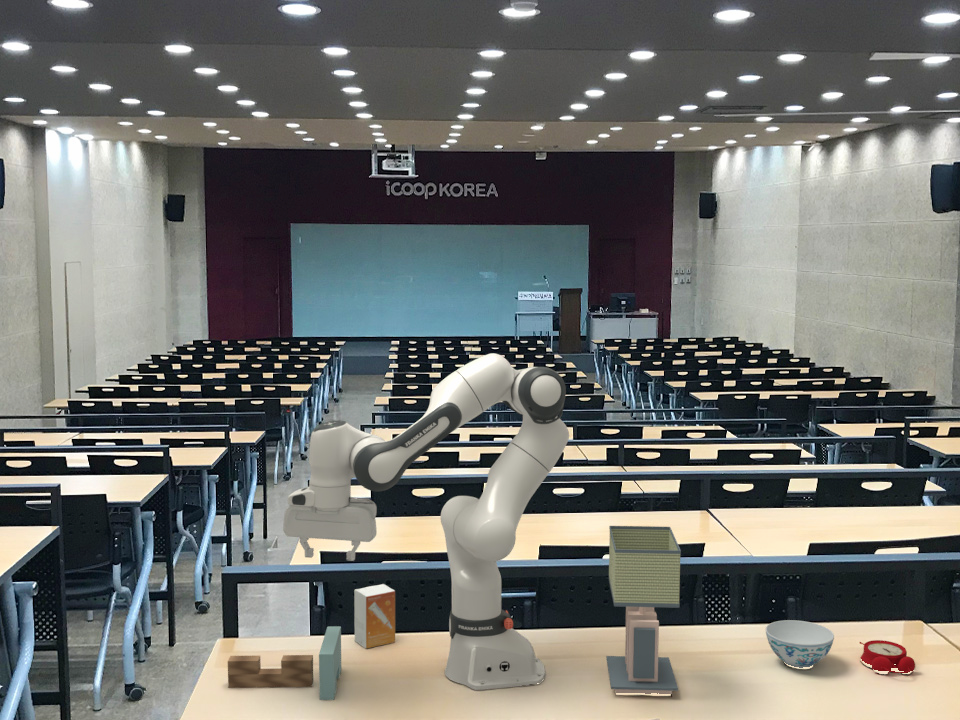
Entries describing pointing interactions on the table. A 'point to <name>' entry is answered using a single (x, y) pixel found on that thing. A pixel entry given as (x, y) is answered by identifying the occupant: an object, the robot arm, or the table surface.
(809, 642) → the chinaware
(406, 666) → the table surface
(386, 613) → the small box
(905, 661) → the alarm clock
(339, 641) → the teal plate
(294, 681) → the walnut notched block
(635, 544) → the desk lamp
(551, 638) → the table surface
